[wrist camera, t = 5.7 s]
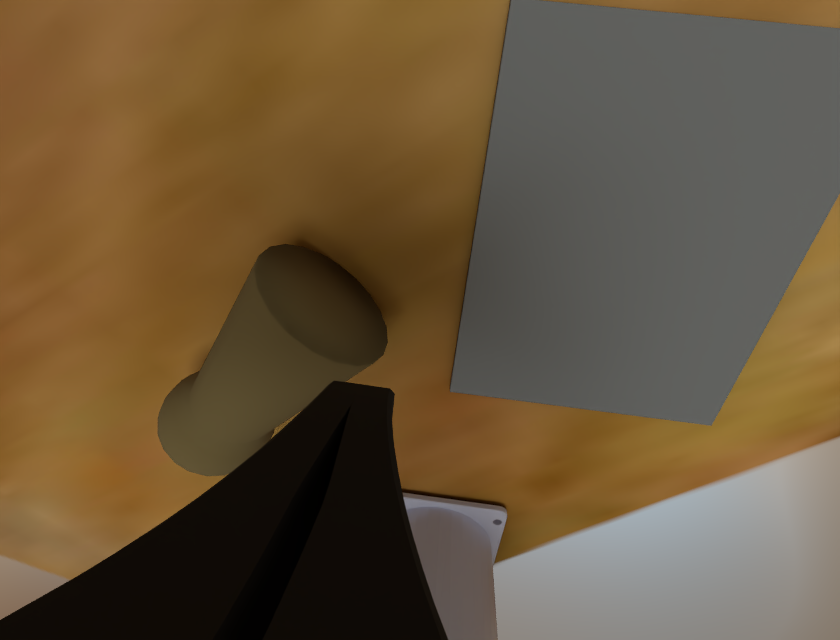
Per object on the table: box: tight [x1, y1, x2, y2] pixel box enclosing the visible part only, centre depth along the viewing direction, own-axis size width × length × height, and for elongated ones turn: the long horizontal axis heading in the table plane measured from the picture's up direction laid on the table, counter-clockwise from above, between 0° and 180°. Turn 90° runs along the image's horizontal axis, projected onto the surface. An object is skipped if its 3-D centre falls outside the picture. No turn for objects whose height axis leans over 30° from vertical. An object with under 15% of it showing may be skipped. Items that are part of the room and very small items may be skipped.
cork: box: [158, 244, 388, 476], centre depth 18 cm, size 6×6×11 cm
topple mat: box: [450, 0, 840, 425], centre depth 17 cm, size 16×13×1 cm
